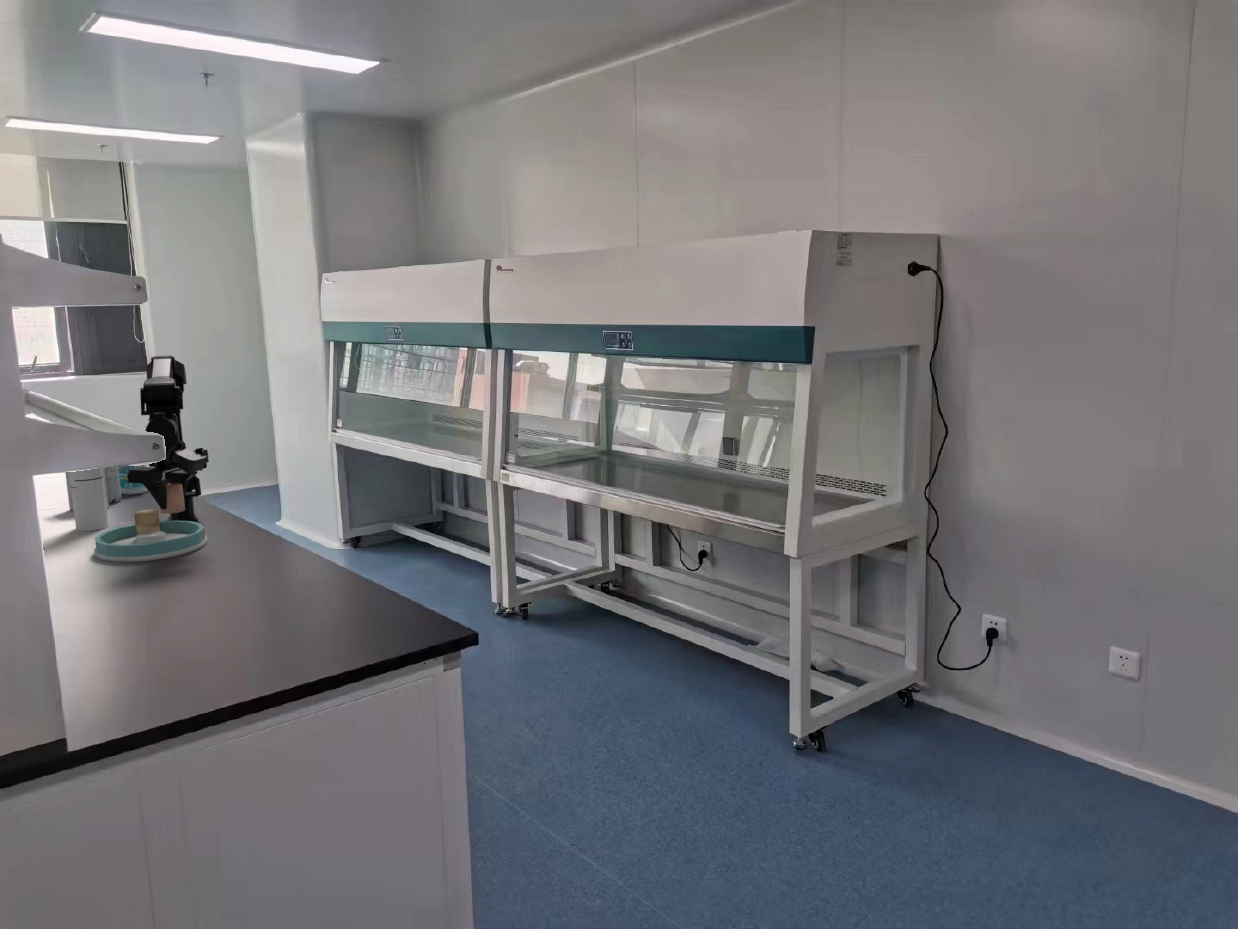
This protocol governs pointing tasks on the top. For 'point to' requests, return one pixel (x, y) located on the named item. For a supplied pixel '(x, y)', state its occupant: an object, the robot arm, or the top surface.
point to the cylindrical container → (89, 499)
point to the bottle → (113, 484)
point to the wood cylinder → (147, 521)
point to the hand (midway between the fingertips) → (172, 506)
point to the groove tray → (150, 542)
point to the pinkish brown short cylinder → (174, 498)
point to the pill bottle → (129, 487)
